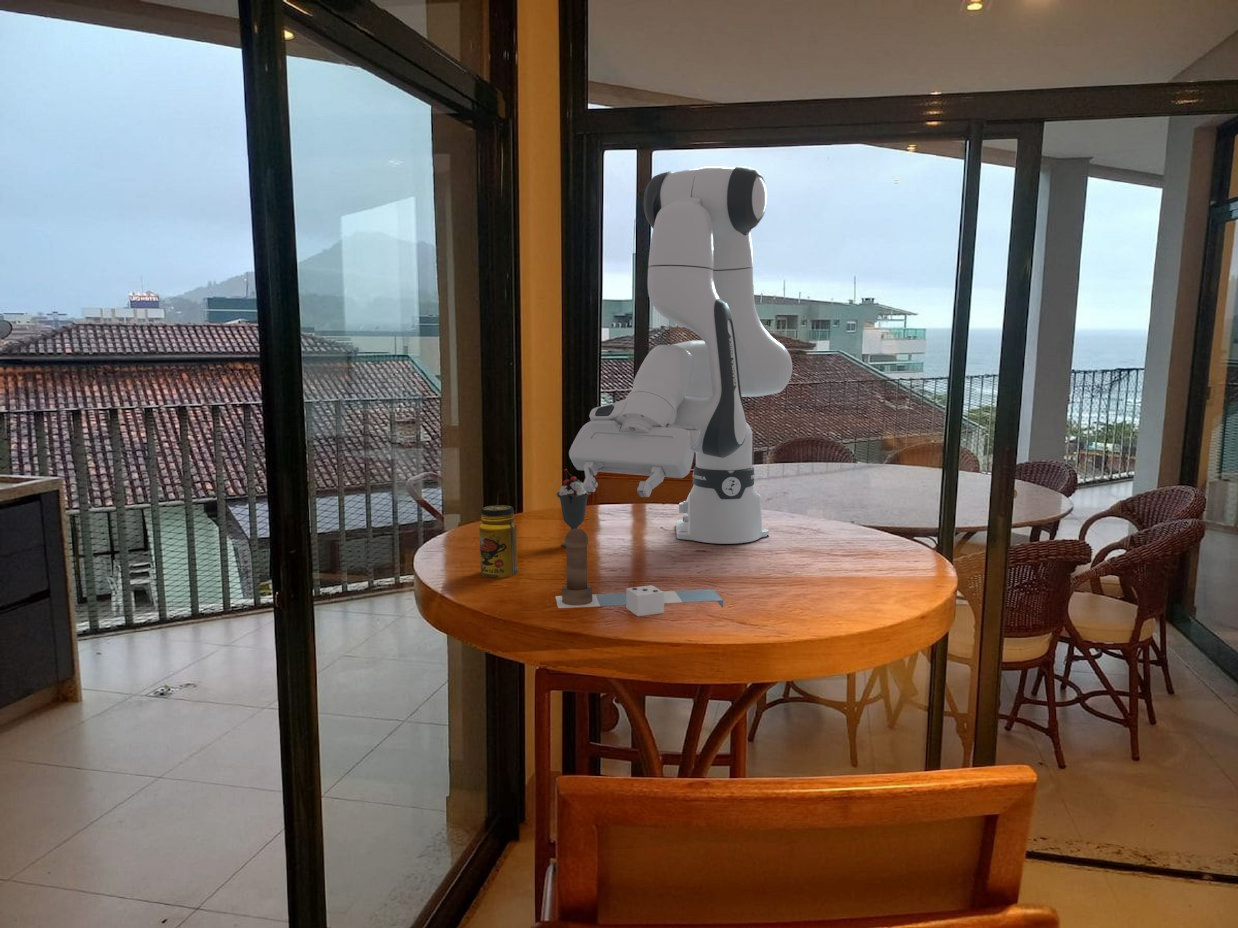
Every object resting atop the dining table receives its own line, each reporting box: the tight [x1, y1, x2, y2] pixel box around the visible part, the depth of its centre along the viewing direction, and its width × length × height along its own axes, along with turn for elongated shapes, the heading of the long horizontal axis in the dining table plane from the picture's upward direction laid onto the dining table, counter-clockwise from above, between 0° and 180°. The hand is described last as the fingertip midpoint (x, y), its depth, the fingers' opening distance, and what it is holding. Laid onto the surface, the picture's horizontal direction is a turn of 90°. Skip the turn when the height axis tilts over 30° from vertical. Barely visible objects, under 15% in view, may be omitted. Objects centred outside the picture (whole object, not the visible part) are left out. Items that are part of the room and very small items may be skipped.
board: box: [555, 588, 724, 609], centre depth 126 cm, size 6×24×1 cm, turn 98°
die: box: [625, 584, 665, 617], centre depth 120 cm, size 4×4×4 cm
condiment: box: [478, 504, 519, 579], centre depth 142 cm, size 7×8×12 cm
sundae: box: [555, 468, 592, 548], centre depth 165 cm, size 7×7×15 cm
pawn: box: [561, 528, 593, 605], centre depth 124 cm, size 4×4×11 cm
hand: (614, 491), depth 131 cm, fingers open, 8 cm apart
